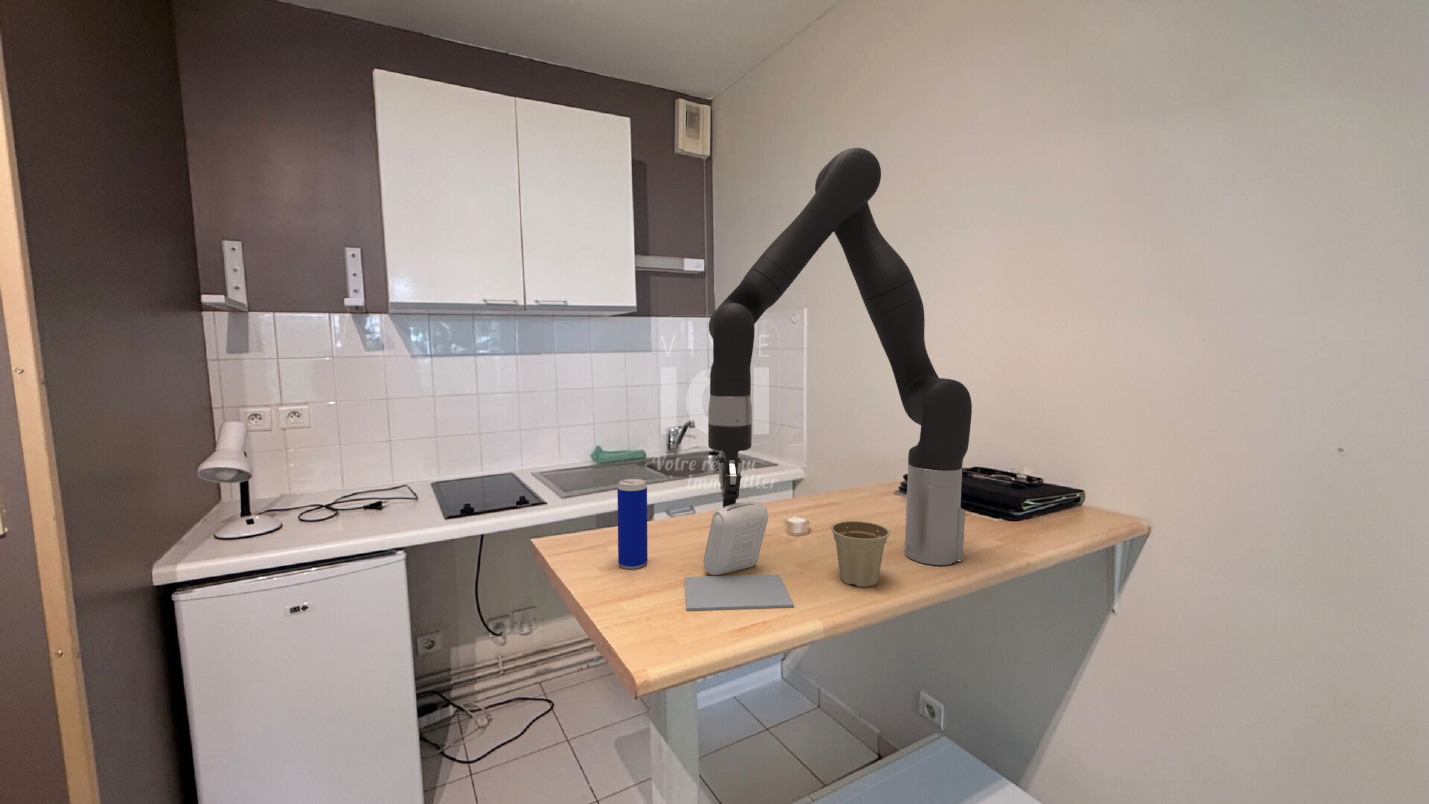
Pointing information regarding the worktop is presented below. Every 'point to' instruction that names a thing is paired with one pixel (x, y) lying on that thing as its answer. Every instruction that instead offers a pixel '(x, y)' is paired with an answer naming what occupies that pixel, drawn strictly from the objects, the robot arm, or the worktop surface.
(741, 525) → the photo printer
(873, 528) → the flower pot
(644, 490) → the beverage can
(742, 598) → the mat
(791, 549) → the worktop surface
